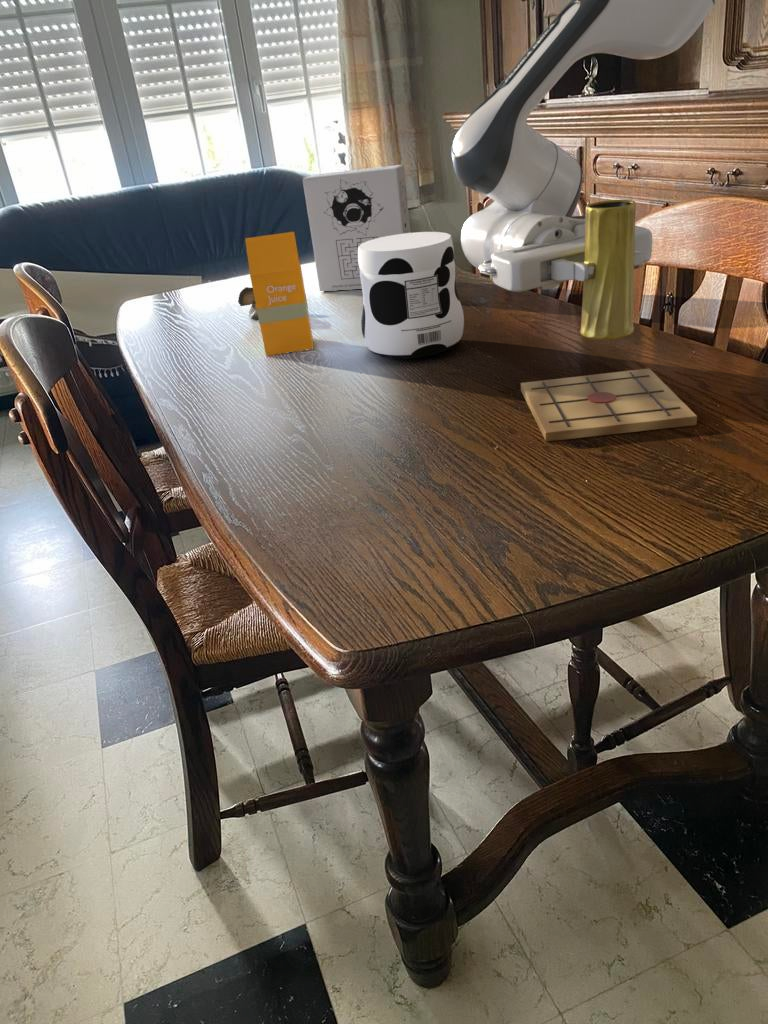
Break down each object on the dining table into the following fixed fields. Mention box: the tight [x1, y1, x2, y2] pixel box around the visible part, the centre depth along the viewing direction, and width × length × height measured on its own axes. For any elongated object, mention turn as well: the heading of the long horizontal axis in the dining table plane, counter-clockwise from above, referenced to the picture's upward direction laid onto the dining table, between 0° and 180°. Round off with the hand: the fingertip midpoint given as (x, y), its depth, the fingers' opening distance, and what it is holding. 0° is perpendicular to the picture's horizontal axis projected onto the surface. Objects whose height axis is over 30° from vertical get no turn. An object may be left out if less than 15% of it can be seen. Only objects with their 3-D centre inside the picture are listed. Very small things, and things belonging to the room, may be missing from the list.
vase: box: [579, 199, 637, 341], centre depth 85 cm, size 6×6×14 cm
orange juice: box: [244, 231, 314, 357], centre depth 134 cm, size 8×9×20 cm
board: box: [520, 367, 698, 443], centre depth 97 cm, size 18×18×1 cm
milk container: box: [358, 231, 465, 360], centre depth 124 cm, size 17×17×18 cm
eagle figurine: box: [237, 286, 259, 322], centre depth 163 cm, size 8×7×9 cm
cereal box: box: [302, 164, 411, 292], centre depth 171 cm, size 22×8×25 cm, turn 77°
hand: (614, 266), depth 84 cm, fingers closed on vase, 5 cm apart
